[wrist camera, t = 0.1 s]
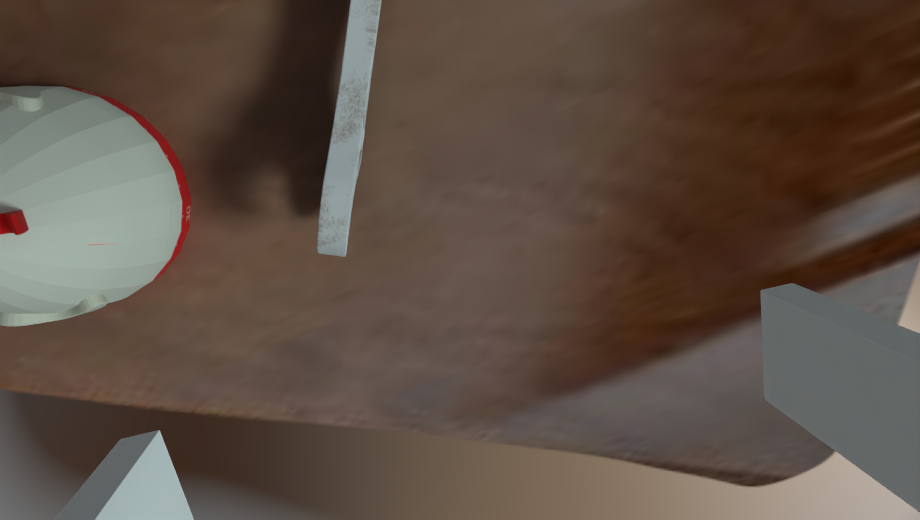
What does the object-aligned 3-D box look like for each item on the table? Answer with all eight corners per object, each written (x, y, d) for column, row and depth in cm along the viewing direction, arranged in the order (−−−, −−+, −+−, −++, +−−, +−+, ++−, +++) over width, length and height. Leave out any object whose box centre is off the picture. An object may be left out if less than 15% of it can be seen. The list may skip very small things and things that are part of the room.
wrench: (413, -213, 35) (350, 246, 38) (384, -221, 35) (324, 243, 38) (424, -330, 27) (344, 262, 30) (387, -342, 27) (311, 257, 30)
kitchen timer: (-77, 101, 33) (-433, 85, 19) (159, 74, 34) (-3, 39, 20) (3, 314, 37) (-243, 439, 22) (212, 281, 38) (108, 379, 24)
